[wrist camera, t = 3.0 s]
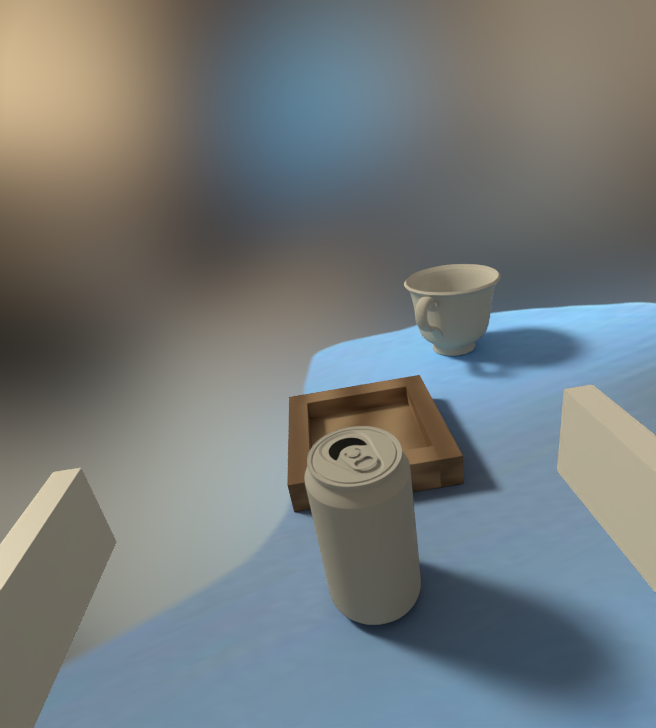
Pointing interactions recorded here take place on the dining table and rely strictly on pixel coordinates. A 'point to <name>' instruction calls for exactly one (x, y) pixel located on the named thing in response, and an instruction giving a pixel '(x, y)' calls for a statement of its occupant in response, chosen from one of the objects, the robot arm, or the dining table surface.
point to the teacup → (453, 305)
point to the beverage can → (365, 522)
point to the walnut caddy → (381, 410)
